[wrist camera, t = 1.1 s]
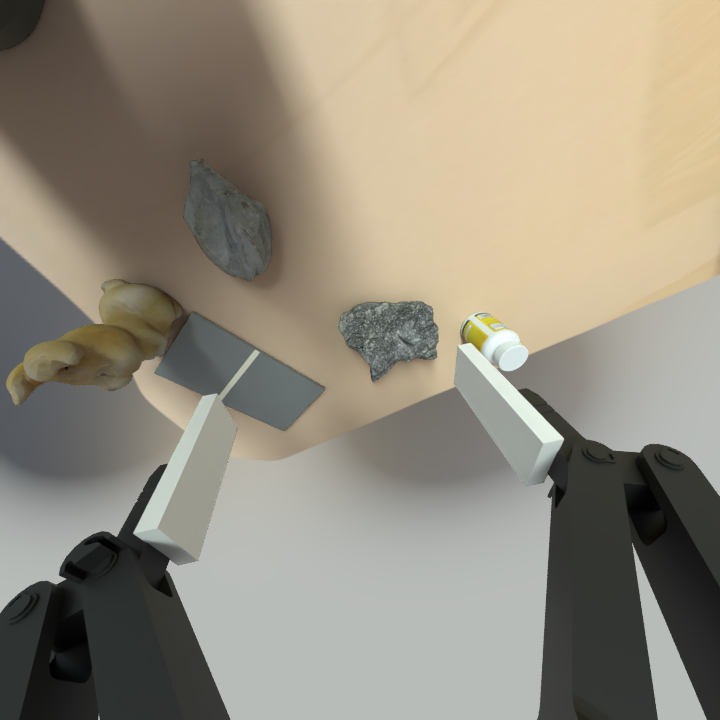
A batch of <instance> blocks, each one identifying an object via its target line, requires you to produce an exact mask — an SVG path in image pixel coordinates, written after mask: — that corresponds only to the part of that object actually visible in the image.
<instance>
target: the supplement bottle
mask: <svg viewBox="0 0 720 720" xmlns="http://www.w3.org/2000/svg"><path fill="white" fill-rule="evenodd" d="M461 335H462V337H463V339H464V340H465V341H466V342H467V343H471V344H472V345H473V346H474V347H475V348H476V349H477V350H478V351H479V352H480V353H481V354H482V355H483V356H484V357H485V358H486V359H487V360H488V361H489V362H490V363H491V364H496V365H497V366H498V367H499V368H500V369H502V370H504V371H512V370H515V369H517V368H519V367H520V366H521V365H522V364H523V363H524V362H525V361H526V359H527V357H528V350H527V349H526V348H525V347H524V346H523V345H522V344H520V339H519V337H518V335H517V334H516V333H515V332H514V331H512V330H511V329H509V328H508V327H507V326H505V325H504V324H503V323H501V322H500V321H498V320H497V319H496V318H494V317H493V316H491V315H490V314H488V313H486V312H477V313H474V314H472V315H471V316H469V317H468V318H467V319H466V320H465V321H464V323H463V325H462V327H461Z"/></svg>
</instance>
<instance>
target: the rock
mask: <svg viewBox="0 0 720 720" xmlns="http://www.w3.org/2000/svg"><path fill="white" fill-rule="evenodd" d="M339 330H340V332H341V334H342V335H343V336H344V337H345V342H346V345H347V346H348V347H350V348H353V349H355V350H357V351H358V352H359V353H360V354H361V356H362V357H363V358H364V359H365V360H366V361H367V362H368V364H369V365H370V367H371V369H370V372H371V379H372V382H373V383H374V382H375V381H376V380H378V379H379V378H381V377H383V376H384V375H385V374H387V373H388V371H389V370H390V369H391V368H392V367H393V366H394V365H395V363H396V362H397V361H400V360H404V361H411V360H412V359H414V358H418V357H419V358H420V359H421V358H423V359H435V358H437V351H436V348H435V347H436V345H437V343H438V327H437V325H436V324H435V323H434V320H433V308H432V307H431V306H428V305H426V304H425V303H424V302H421V301H416V302H414V301H412V302H399V303H389V302H380V303H377V302H366V303H363V304H358V305H357V306H355V307H353V308H352V309H351V310H350V311H349V312H344V313H343V314H342V316H341V317H340V322H339Z"/></svg>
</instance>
